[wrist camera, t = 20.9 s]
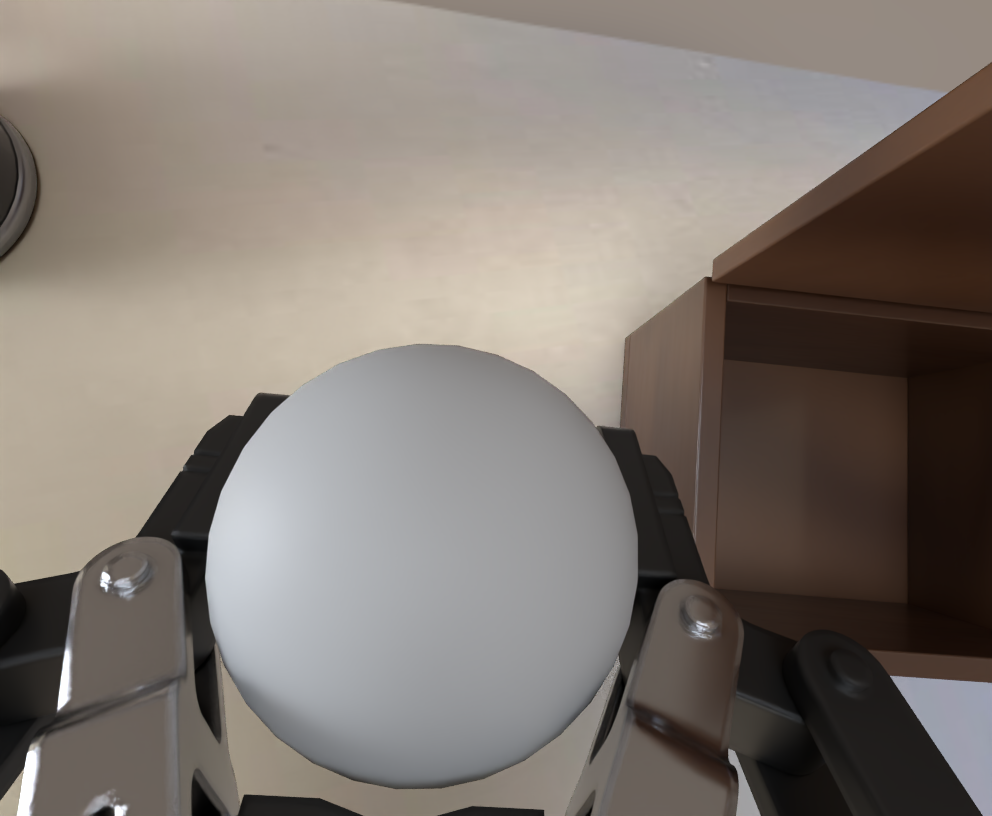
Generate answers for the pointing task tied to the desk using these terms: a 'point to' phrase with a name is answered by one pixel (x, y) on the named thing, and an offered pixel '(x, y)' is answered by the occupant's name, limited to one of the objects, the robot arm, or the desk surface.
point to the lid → (891, 217)
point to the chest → (830, 463)
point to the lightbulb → (422, 566)
